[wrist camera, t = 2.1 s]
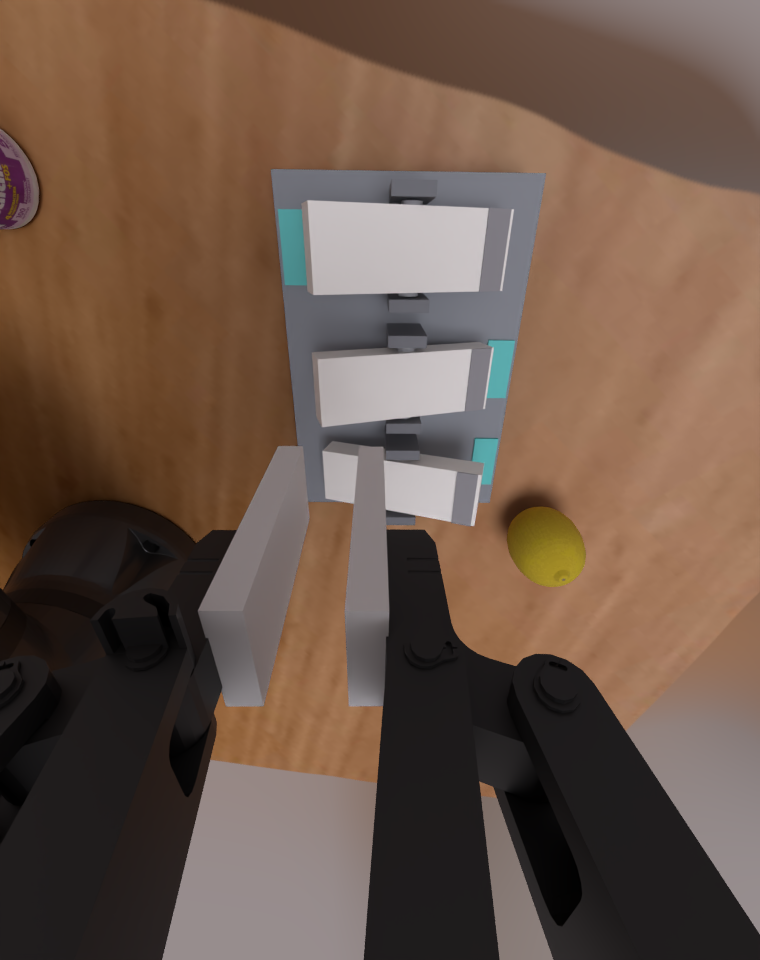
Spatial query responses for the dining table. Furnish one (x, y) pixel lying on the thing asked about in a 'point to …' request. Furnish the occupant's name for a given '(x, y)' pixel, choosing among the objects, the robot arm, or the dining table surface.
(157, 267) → the dining table surface
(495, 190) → the console
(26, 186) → the pill bottle
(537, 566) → the lemon
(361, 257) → the rocker
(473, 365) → the rocker
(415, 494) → the rocker
